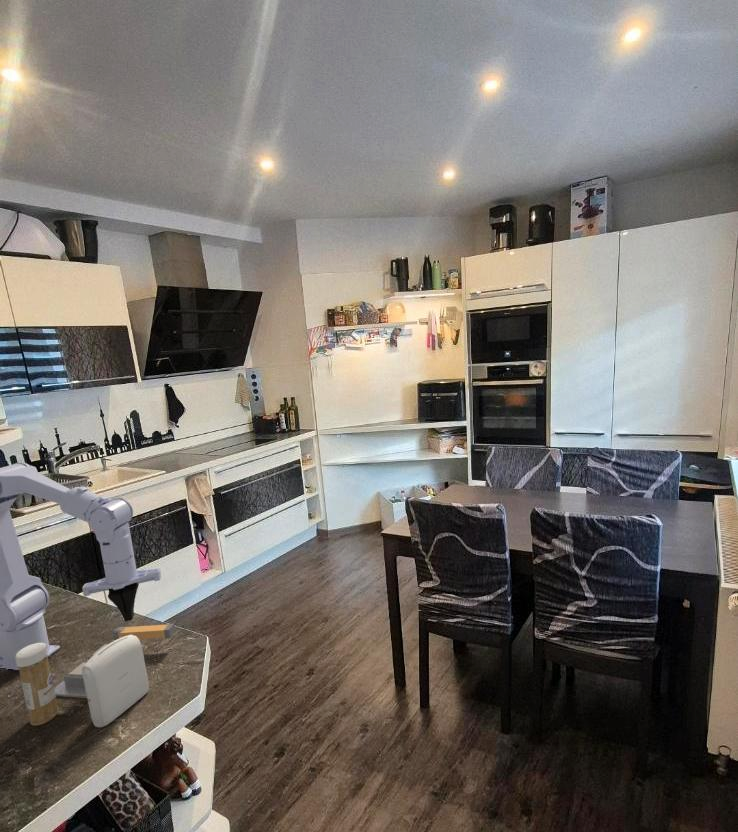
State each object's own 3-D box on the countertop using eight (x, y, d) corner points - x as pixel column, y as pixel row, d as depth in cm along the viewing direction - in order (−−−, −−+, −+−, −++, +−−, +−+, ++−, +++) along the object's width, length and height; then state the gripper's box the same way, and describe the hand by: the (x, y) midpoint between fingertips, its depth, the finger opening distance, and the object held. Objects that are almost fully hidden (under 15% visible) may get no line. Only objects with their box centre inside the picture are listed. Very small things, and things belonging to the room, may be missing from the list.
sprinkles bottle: (59, 718, 83) (45, 649, 81) (28, 731, 80) (13, 661, 79) (59, 703, 87) (46, 638, 85) (30, 715, 84) (16, 648, 83)
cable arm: (111, 641, 100) (110, 633, 100) (118, 635, 103) (116, 627, 103) (170, 638, 100) (169, 629, 99) (175, 631, 102) (174, 623, 102)
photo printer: (103, 731, 79) (90, 665, 77) (87, 724, 81) (74, 660, 79) (153, 690, 88) (143, 630, 86) (139, 685, 90) (128, 626, 88)
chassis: (48, 695, 89) (45, 681, 89) (108, 645, 104) (106, 633, 104) (89, 698, 87) (86, 684, 87) (144, 647, 102) (142, 635, 102)
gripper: (73, 573, 90) (85, 637, 91) (153, 557, 94) (163, 619, 95) (84, 559, 97) (95, 619, 98) (158, 545, 101) (167, 603, 102)
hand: (129, 618), depth 97 cm, fingers closed
